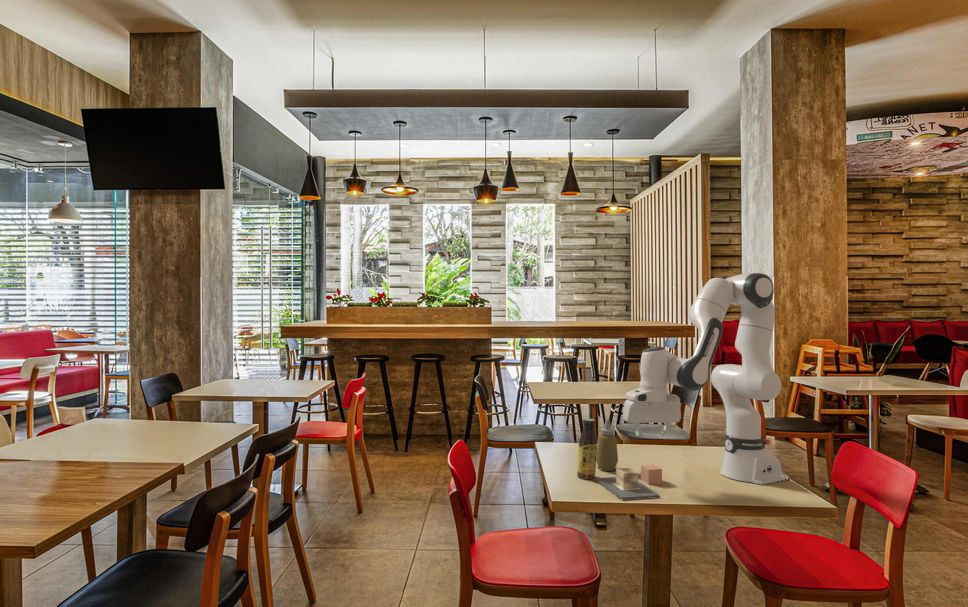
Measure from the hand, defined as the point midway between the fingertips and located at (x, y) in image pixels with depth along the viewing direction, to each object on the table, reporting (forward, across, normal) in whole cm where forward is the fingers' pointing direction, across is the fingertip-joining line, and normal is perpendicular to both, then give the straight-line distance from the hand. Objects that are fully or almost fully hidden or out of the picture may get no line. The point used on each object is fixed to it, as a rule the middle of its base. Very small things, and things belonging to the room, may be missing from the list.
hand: (651, 435), depth 177 cm
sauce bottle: (+16, +20, -8) cm, 27 cm away
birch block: (+15, +12, +5) cm, 20 cm away
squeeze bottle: (+16, +9, -15) cm, 24 cm away
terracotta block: (+16, 0, 0) cm, 16 cm away
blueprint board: (+16, +12, +5) cm, 20 cm away
